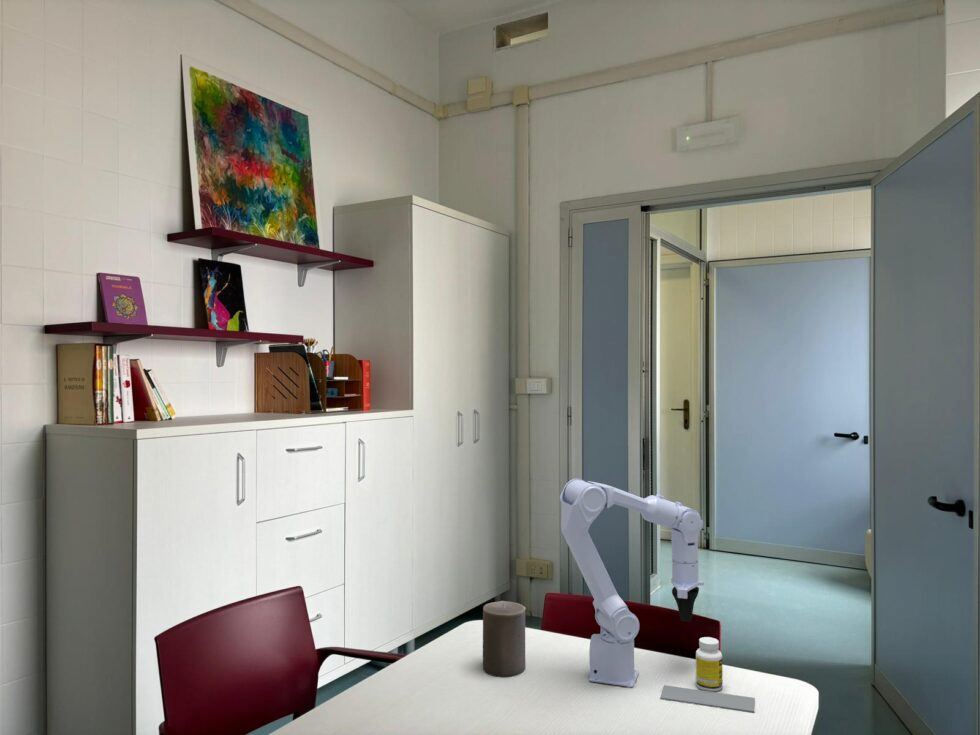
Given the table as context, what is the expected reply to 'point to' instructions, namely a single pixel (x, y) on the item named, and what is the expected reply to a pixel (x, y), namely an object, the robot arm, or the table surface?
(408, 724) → the table surface
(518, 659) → the pillar candle
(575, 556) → the robot arm
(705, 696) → the mat
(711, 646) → the supplement bottle
